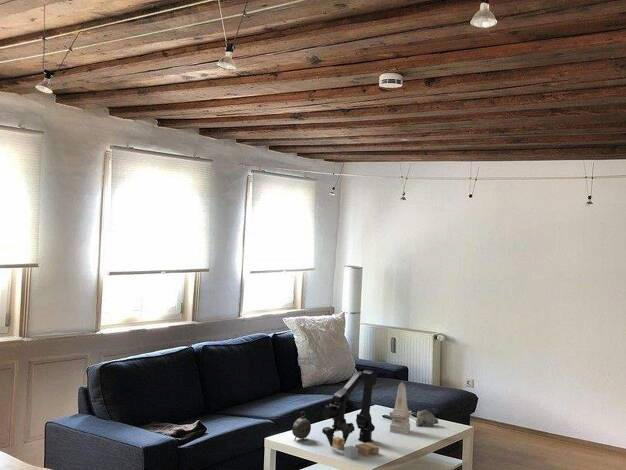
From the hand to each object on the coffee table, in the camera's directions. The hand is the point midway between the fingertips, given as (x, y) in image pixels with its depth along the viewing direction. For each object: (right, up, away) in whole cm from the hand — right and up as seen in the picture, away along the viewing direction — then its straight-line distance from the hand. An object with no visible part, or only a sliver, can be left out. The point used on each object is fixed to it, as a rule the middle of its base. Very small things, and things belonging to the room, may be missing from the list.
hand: (337, 444), depth 370 cm
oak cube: (0, -1, 0) cm, 1 cm away
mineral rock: (+57, -4, +52) cm, 77 cm away
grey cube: (+6, -2, -15) cm, 17 cm away
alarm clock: (-20, -1, +10) cm, 22 cm away
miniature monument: (+39, -3, +37) cm, 53 cm away
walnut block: (+15, -2, -7) cm, 17 cm away
